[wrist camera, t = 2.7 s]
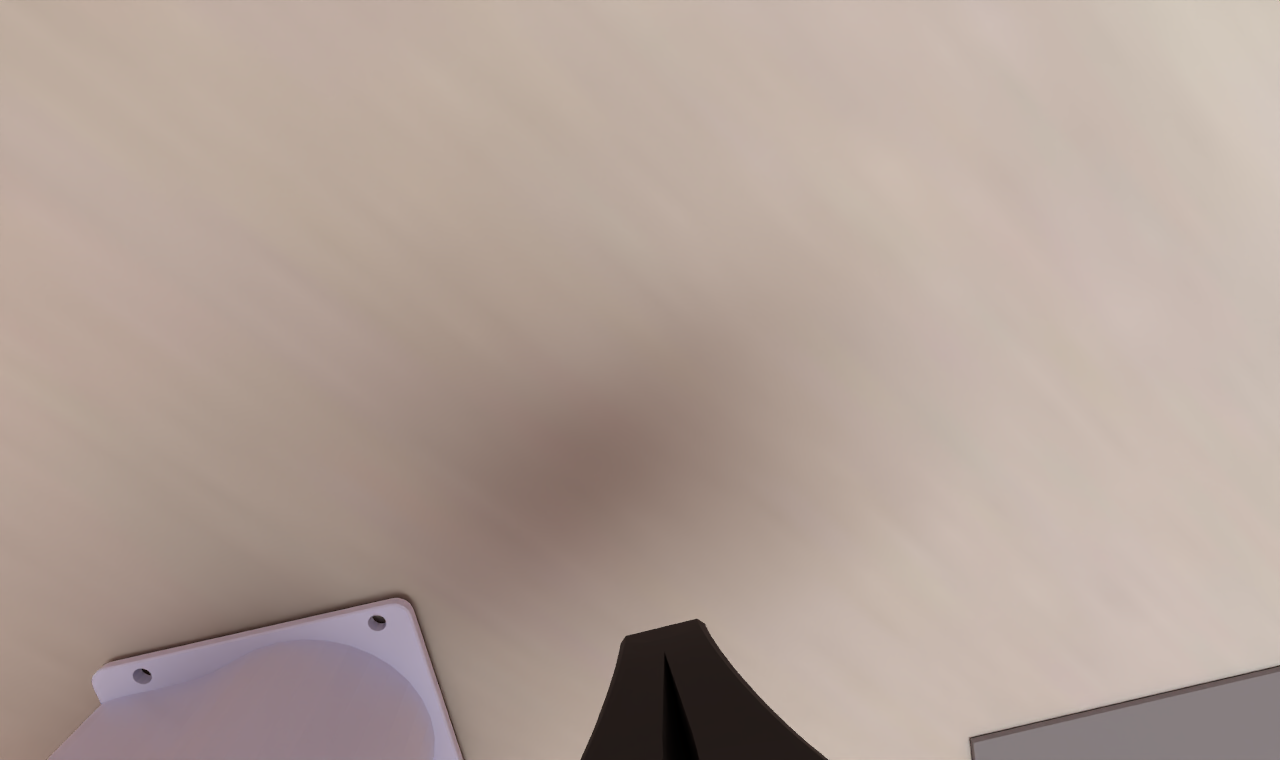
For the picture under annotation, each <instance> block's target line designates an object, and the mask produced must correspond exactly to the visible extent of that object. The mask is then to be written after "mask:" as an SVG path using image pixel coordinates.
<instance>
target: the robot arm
mask: <svg viewBox="0 0 1280 760" xmlns="http://www.w3.org/2000/svg"><path fill="white" fill-rule="evenodd" d="M374 615H380V616H382V617H384V619H385V620H386V622H385V623H378V622H376V621H374V619H373V618H372V616H374ZM142 669H146V670H148V671H149V672H150V673H151V675H147V674H145V673H144V672H143V671H142ZM92 686H93V688H94V690H95V692H96V695H97V697H98V699H99V701H100V703H101V705H100V706H99V707H98V708H97V709H96V710H95V711H94V712H93V713H92V714H91V715H90V716H89V717H88V718H87V719H86V720H85V721H84V722H83V723H82V724H81V725H80V726H79V727H78V728H77V729H76V730H75V731H74V732H73V733H72V734H71V735H70V736H69V737H68V738H67V739H66V740H65V741H64V742H63V743H62V744H61V745H60V746H59V747H58V748H57V749H56V750H55V751H54V752H53V753H52V754H51V755H50V756H49V757H48V758H47V759H46V760H463V757H462V754H461V751H460V748H459V745H458V742H457V739H456V736H455V733H454V730H453V727H452V724H451V721H450V718H449V715H448V712H447V709H446V706H445V703H444V700H443V697H442V694H441V691H440V688H439V685H438V682H437V679H436V676H435V673H434V670H433V667H432V664H431V661H430V658H429V655H428V652H427V649H426V646H425V643H424V639H423V636H422V633H421V630H420V627H419V624H418V621H417V618H416V615H415V612H414V609H413V607H412V606H411V604H410V603H409V602H407V601H406V600H404V599H401V598H391V599H386V600H382V601H378V602H373V603H369V604H364V605H360V606H355V607H351V608H347V609H342V610H338V611H333V612H329V613H324V614H320V615H316V616H311V617H307V618H302V619H298V620H294V621H289V622H285V623H280V624H276V625H271V626H267V627H263V628H258V629H254V630H249V631H245V632H240V633H236V634H232V635H227V636H223V637H218V638H214V639H209V640H205V641H201V642H196V643H192V644H187V645H183V646H179V647H174V648H170V649H165V650H161V651H156V652H152V653H148V654H143V655H139V656H134V657H130V658H125V659H121V660H117V661H112V662H109V663H106V664H104V665H103V666H102V667H101V668H100V669H99V670H98V671H97V672H96V673H95V674H94V675H93V677H92ZM581 760H828V759H827V758H826V757H824V756H823V755H822V754H821V753H819V752H818V751H817V750H816V749H815V748H813V747H812V746H811V745H810V744H808V743H807V742H806V741H805V740H804V739H803V738H802V737H800V736H799V735H798V734H797V733H796V732H795V731H794V730H793V729H792V728H790V727H789V726H788V725H787V724H786V723H785V722H784V721H783V720H782V719H781V718H780V717H779V716H778V715H777V714H776V713H775V712H774V711H773V710H772V709H771V708H770V707H769V706H768V705H767V704H766V703H765V702H764V701H763V700H762V699H761V698H760V697H759V696H758V695H757V694H756V693H755V691H754V690H753V689H752V688H751V687H750V686H749V685H748V683H747V682H746V681H745V680H744V679H743V678H742V677H741V676H740V674H739V673H738V672H737V671H736V670H735V668H734V667H733V666H732V665H731V663H730V662H729V661H728V660H727V658H726V657H725V656H724V654H723V653H722V652H721V650H720V649H719V647H718V646H717V644H716V643H715V641H714V640H713V638H712V637H711V635H710V633H709V631H708V630H707V628H706V625H705V623H703V622H701V621H700V620H698V619H694V620H690V621H686V622H682V623H678V624H673V625H669V626H665V627H661V628H657V629H653V630H649V631H645V632H641V633H636V634H632V635H628V636H626V637H625V638H624V640H623V641H622V643H621V645H620V651H619V655H618V659H617V663H616V667H615V670H614V674H613V677H612V680H611V683H610V687H609V690H608V693H607V696H606V698H605V701H604V704H603V706H602V709H601V712H600V715H599V717H598V720H597V723H596V725H595V728H594V730H593V733H592V735H591V737H590V740H589V742H588V744H587V746H586V749H585V751H584V753H583V755H582V758H581Z"/></svg>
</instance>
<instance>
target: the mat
mask: <svg viewBox="0 0 1280 760" xmlns="http://www.w3.org/2000/svg"><path fill="white" fill-rule="evenodd" d="M970 741H971V750H972V759H973V760H1280V667H1275V668H1271V669H1267V670H1263V671H1258V672H1254V673H1250V674H1245V675H1241V676H1237V677H1232V678H1228V679H1224V680H1220V681H1215V682H1211V683H1207V684H1202V685H1198V686H1194V687H1190V688H1185V689H1181V690H1177V691H1172V692H1168V693H1164V694H1159V695H1155V696H1151V697H1147V698H1142V699H1138V700H1134V701H1129V702H1125V703H1121V704H1117V705H1112V706H1108V707H1104V708H1099V709H1095V710H1091V711H1087V712H1082V713H1078V714H1074V715H1069V716H1065V717H1061V718H1056V719H1052V720H1048V721H1044V722H1039V723H1035V724H1031V725H1026V726H1022V727H1018V728H1014V729H1009V730H1005V731H1001V732H996V733H992V734H988V735H983V736H979V737H975V738H971V739H970Z"/></svg>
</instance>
